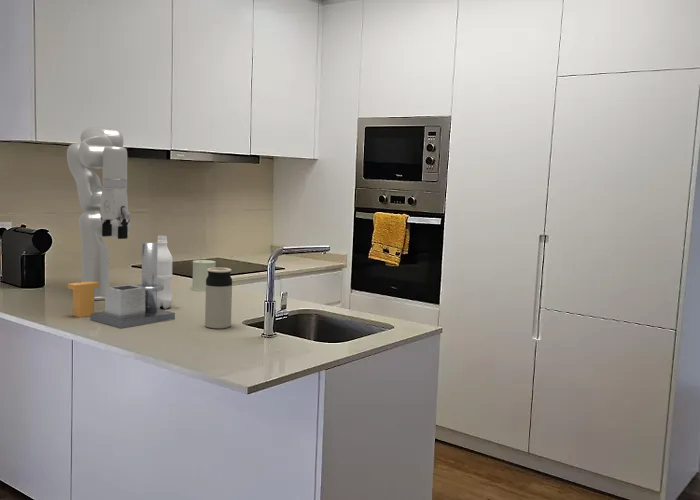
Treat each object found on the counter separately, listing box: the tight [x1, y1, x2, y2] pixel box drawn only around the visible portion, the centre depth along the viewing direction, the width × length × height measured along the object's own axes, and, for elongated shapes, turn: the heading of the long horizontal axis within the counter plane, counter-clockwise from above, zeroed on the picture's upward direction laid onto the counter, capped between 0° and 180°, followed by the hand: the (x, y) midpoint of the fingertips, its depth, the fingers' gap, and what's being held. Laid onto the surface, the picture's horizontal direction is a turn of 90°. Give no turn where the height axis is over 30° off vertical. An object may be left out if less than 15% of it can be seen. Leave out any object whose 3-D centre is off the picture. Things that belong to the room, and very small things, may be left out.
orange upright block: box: [67, 281, 99, 318], centre depth 221 cm, size 4×8×10 cm, turn 143°
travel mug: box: [204, 267, 233, 330], centre depth 213 cm, size 8×8×18 cm
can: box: [191, 259, 217, 292], centre depth 276 cm, size 9×9×12 cm
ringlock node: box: [90, 241, 176, 329], centre depth 218 cm, size 16×20×24 cm
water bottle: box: [156, 235, 173, 310], centre depth 237 cm, size 7×7×25 cm
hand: (114, 237), depth 225 cm, fingers open, 9 cm apart
